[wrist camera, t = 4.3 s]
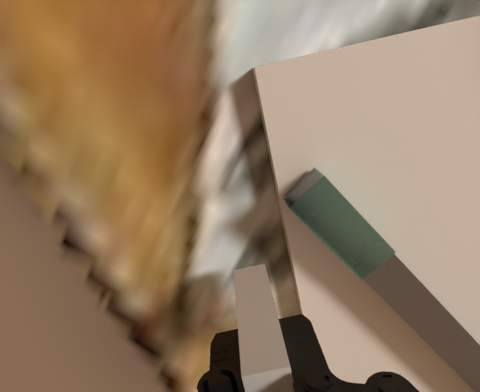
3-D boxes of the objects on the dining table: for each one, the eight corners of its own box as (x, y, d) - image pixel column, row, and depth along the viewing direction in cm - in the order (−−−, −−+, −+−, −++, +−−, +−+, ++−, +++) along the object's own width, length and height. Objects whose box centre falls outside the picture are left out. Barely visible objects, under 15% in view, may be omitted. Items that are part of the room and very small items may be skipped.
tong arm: (282, 197, 17) (288, 208, 15) (314, 167, 17) (324, 175, 15) (488, 403, 21) (508, 428, 20) (516, 383, 21) (540, 406, 19)
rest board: (251, 68, 17) (254, 67, 15) (639, -21, 16) (671, -29, 15) (327, 449, 24) (332, 467, 22) (599, 390, 23) (619, 406, 22)
